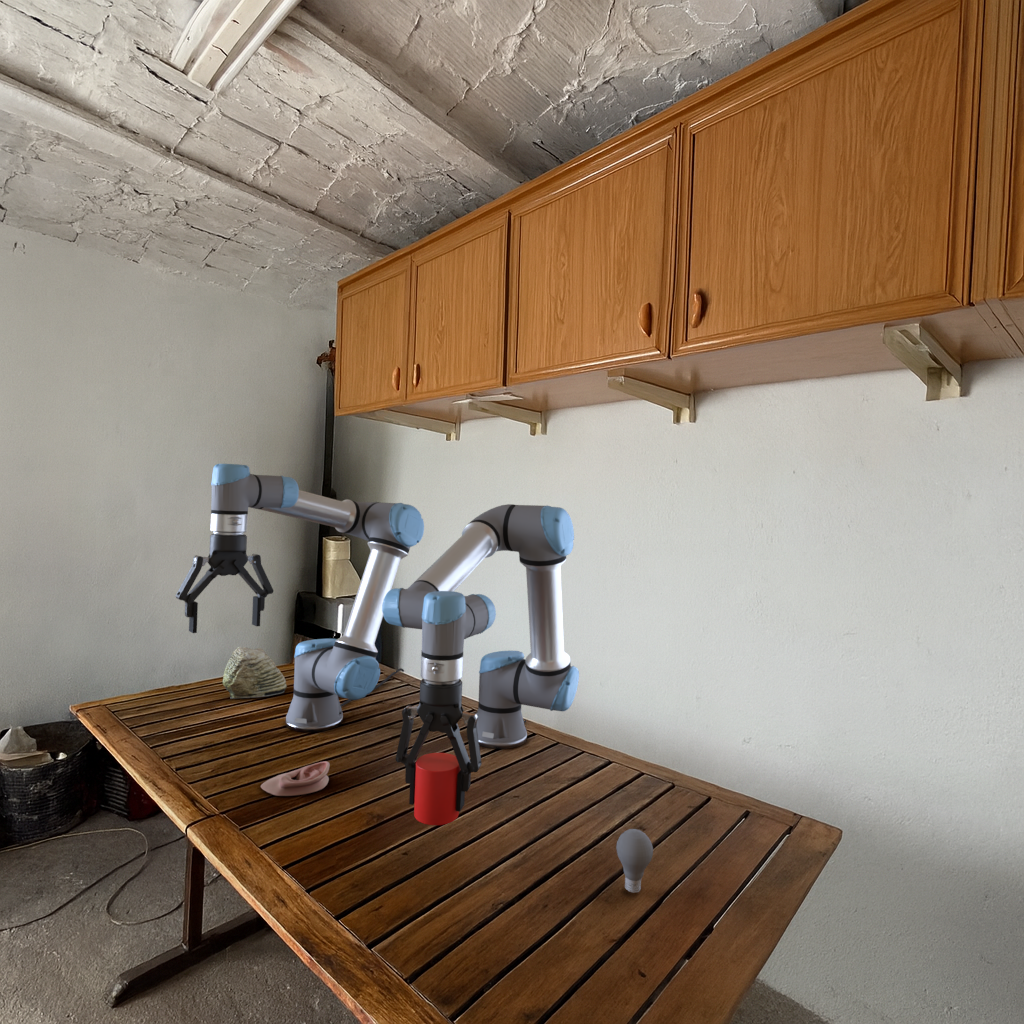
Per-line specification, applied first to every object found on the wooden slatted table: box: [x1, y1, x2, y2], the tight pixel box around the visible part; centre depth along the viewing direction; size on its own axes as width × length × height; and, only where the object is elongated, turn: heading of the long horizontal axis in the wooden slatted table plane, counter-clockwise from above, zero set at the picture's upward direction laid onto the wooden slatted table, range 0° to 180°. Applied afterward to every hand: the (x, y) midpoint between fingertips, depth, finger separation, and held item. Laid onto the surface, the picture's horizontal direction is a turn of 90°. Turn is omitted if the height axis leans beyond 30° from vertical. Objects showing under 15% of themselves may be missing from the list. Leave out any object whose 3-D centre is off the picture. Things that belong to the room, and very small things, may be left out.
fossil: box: [222, 646, 288, 699], centre depth 198 cm, size 9×18×15 cm, turn 132°
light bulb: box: [615, 828, 654, 894], centre depth 106 cm, size 6×6×10 cm
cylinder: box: [413, 752, 461, 826], centre depth 114 cm, size 8×8×10 cm
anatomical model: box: [260, 760, 331, 797], centre depth 138 cm, size 13×4×12 cm
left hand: (225, 628), depth 141 cm, fingers open, 13 cm apart
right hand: (436, 804), depth 114 cm, fingers closed on cylinder, 8 cm apart
